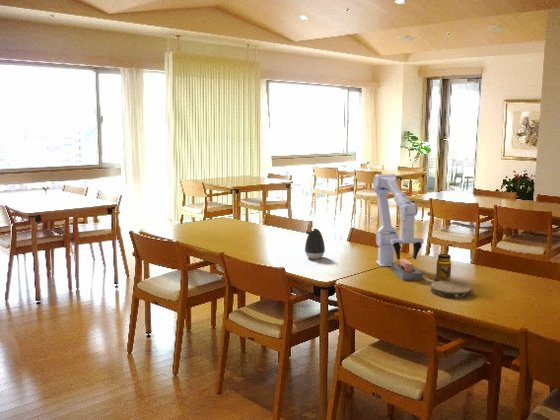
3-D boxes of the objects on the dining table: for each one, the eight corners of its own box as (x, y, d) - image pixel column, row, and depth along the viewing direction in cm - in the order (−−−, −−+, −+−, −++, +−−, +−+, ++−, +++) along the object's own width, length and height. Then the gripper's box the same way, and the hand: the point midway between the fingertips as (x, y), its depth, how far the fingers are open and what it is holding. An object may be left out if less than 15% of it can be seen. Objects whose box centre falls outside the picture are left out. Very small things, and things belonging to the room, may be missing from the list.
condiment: (449, 284, 242) (450, 257, 240) (429, 282, 246) (430, 255, 244) (452, 280, 248) (454, 254, 246) (433, 278, 252) (434, 251, 250)
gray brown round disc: (425, 288, 238) (425, 281, 238) (462, 287, 240) (462, 280, 239) (438, 299, 223) (439, 292, 222) (477, 298, 224) (478, 291, 224)
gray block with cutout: (390, 269, 266) (390, 263, 266) (409, 268, 267) (409, 262, 267) (402, 280, 249) (402, 273, 248) (422, 279, 249) (422, 273, 249)
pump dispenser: (300, 256, 290) (301, 227, 288) (318, 254, 295) (318, 226, 292) (310, 261, 281) (311, 231, 279) (328, 258, 286) (329, 229, 283)
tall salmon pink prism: (399, 271, 263) (399, 258, 262) (405, 271, 263) (406, 258, 262) (405, 277, 253) (406, 264, 252) (412, 277, 253) (412, 264, 252)
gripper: (394, 231, 250) (393, 261, 252) (426, 231, 251) (424, 260, 253) (390, 228, 257) (389, 257, 259) (421, 228, 258) (419, 257, 260)
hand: (406, 259), depth 257 cm, fingers open, 7 cm apart
